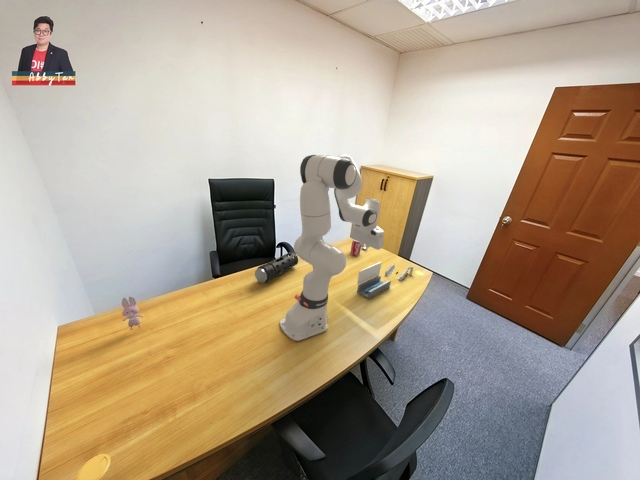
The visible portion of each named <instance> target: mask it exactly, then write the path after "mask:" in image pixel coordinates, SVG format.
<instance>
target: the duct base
mask: <svg viewBox="0 0 640 480" xmlns="http://www.w3.org/2000/svg"><path fill="white" fill-rule="evenodd" d="M381 278H382V275H381V274H379V275H377V276H375V277H373V278H371V279H369V280H367V281H365V282H363V283H361V284H359V285H357V289H356V290H357V291H356V292H357V293H358V294H359V295H362V296H363V297H364V298H366V299H367V300H370V299H372V298H374V297H375V296H378V294H380V293H382V292H385V291H386V290H387V289H389V288H390V286H391V284H392V281H391V280H390V279H388V280H385V282H383V283H382V284H381V285H379V286H377V287H375V288H373V289H371V290H369V291H368V292H367V293H366V292H365V290H366V289H368V288H369V287H371V286H373V285H375V284H377V283H379V282H381Z"/></svg>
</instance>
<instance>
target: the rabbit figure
mask: <svg viewBox="0 0 640 480" xmlns="http://www.w3.org/2000/svg"><path fill="white" fill-rule="evenodd" d="M121 306H122V309H123V310H122V312H121V315H122V316H124V317H125V318H123V319H122V322H125V321H126V320H128V322H127V325H128V328H130V330H133V327H135V326H138V327H137V329H140V328H141V325H140V324H141V321H140V318H143V317H144V315H141V314H138V313H139V312H140V309H139V308H138V307H137V300H136V299H135V298H134V297H133V296H128V299H127V298H126V297H123V298H122V299H121Z"/></svg>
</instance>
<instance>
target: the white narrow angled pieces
mask: <svg viewBox="0 0 640 480" xmlns="http://www.w3.org/2000/svg"><path fill="white" fill-rule="evenodd" d="M395 268H396V265H395V263H392V264H391V265H390V266H389V267H388V268H387V269H386V270H385V271H384V276H387V277H390V276H391V275H392V272H393V270H394V269H395ZM409 270H410V271H409ZM403 271H404V272H403V273H402V274H401V275H402V276H399V277H397V279H396V280H397V281H400V282H402V281H403V279H404V278H405V277H406V276H405V275H407V274H408V273H409V274H411V275H413V271H414V267H413V266H408V268H406V269H405V270H403ZM407 272H408V273H407ZM404 276H405V277H404Z"/></svg>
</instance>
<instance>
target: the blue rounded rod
mask: <svg viewBox="0 0 640 480" xmlns="http://www.w3.org/2000/svg"><path fill="white" fill-rule="evenodd" d="M380 281H381V280H380ZM382 283H384V282H383V281H381V282H379V283H377V284H375V285H373V286H371V287H369V288H368V289H366V290H365V292H366V293H367V292H368V291H369V290H371V289H373V288H375V287H377V286H379V285H381V284H382Z"/></svg>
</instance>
